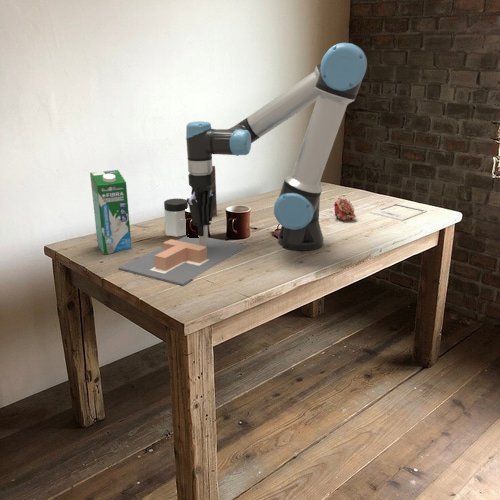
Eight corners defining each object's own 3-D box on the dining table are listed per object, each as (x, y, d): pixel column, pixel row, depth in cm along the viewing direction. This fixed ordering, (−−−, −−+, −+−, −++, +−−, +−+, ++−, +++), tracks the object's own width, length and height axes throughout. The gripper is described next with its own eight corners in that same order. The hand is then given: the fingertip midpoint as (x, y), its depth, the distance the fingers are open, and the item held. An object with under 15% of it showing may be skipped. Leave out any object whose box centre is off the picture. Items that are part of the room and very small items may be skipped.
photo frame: (370, 211, 216) (395, 203, 228) (370, 214, 216) (394, 205, 228) (402, 219, 206) (426, 210, 218) (402, 222, 207) (426, 212, 218)
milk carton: (104, 254, 173) (96, 177, 165) (97, 246, 181) (89, 172, 172) (131, 250, 177) (125, 174, 168) (124, 242, 185) (118, 169, 176)
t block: (207, 258, 168) (206, 246, 167) (179, 274, 157) (178, 261, 155) (171, 250, 175) (170, 239, 173) (142, 264, 163) (141, 252, 162)
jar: (171, 239, 187) (169, 206, 183) (161, 233, 193) (159, 200, 189) (194, 234, 192) (192, 202, 187) (183, 229, 198) (182, 197, 194)
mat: (249, 247, 179) (249, 245, 179) (183, 285, 150) (183, 283, 150) (190, 235, 191) (190, 233, 191) (118, 269, 162) (118, 267, 162)
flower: (324, 216, 206) (336, 202, 201) (330, 205, 213) (342, 191, 209) (345, 231, 206) (357, 217, 201) (350, 220, 214) (362, 206, 209)
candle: (209, 220, 208) (207, 168, 201) (194, 217, 211) (192, 166, 204) (220, 215, 214) (219, 165, 207) (205, 212, 217) (204, 163, 210)
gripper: (202, 167, 175) (205, 236, 184) (178, 175, 165) (182, 248, 173) (221, 170, 172) (223, 240, 180) (198, 178, 161) (201, 252, 169)
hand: (203, 244), depth 176 cm, fingers closed
